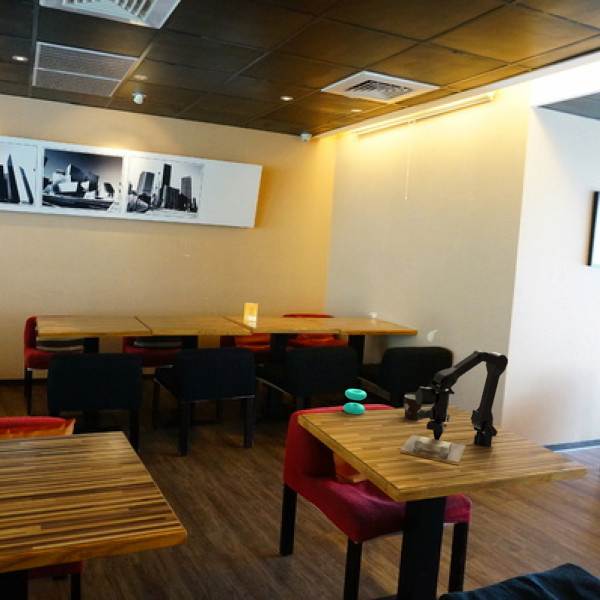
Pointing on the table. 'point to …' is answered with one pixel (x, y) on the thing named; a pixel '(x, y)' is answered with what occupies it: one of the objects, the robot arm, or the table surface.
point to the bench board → (416, 447)
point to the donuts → (355, 407)
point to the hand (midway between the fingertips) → (436, 442)
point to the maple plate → (433, 444)
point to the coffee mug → (411, 407)
